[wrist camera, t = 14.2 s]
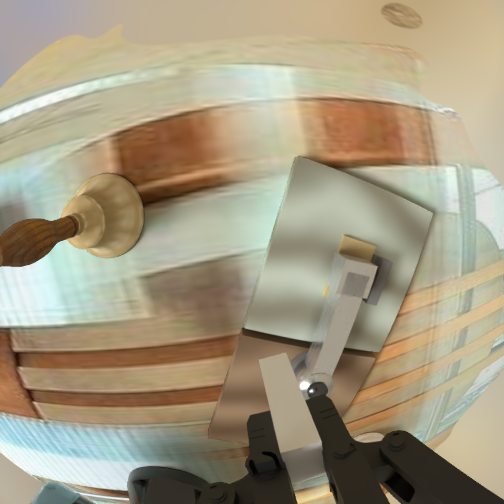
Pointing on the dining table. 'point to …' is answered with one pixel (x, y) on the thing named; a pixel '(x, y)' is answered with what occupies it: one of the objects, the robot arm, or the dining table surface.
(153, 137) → the dining table surface
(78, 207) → the hand bell
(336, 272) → the swing bar
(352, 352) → the door board
